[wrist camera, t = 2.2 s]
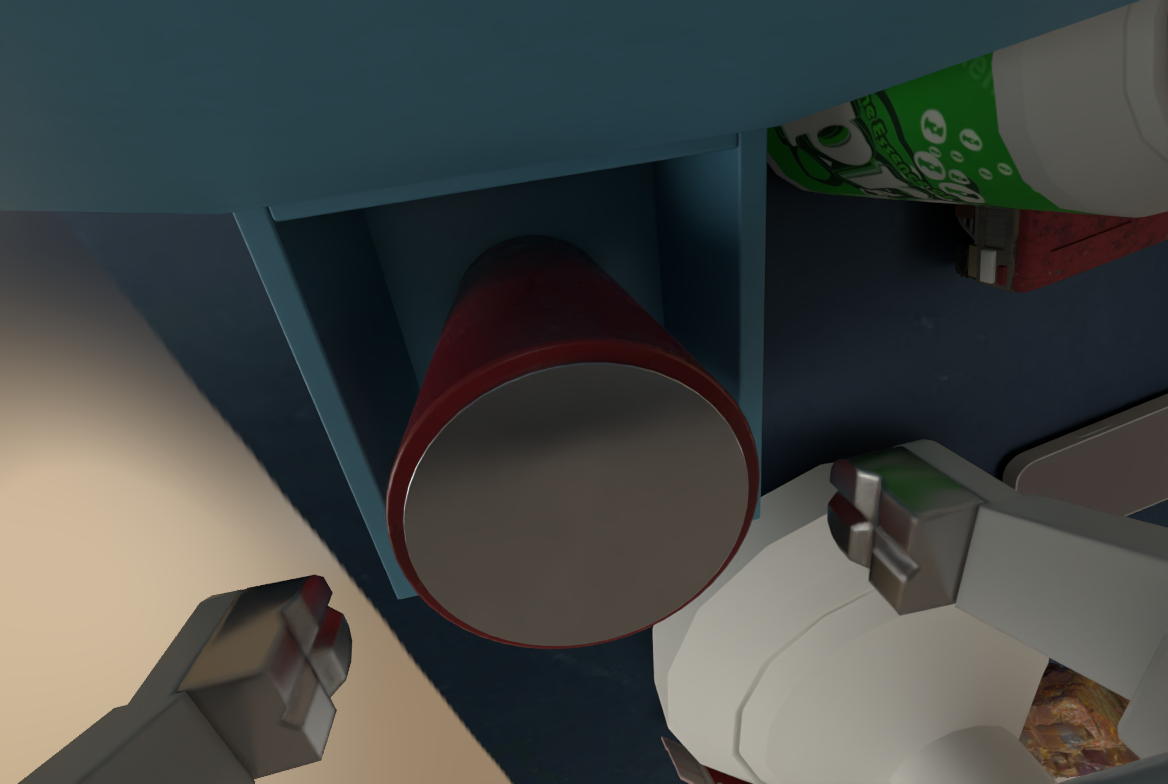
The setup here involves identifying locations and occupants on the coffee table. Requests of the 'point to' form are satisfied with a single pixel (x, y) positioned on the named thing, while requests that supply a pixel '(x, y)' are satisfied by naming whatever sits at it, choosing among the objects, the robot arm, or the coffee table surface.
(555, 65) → the lid
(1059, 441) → the smartphone
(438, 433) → the red canister
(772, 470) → the coffee table surface
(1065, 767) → the mineral specimen
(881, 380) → the coffee table surface
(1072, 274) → the toy vehicle
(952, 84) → the soda can
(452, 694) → the coffee table surface
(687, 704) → the candle holder
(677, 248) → the box
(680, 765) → the decorative emblem
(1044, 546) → the robot arm
